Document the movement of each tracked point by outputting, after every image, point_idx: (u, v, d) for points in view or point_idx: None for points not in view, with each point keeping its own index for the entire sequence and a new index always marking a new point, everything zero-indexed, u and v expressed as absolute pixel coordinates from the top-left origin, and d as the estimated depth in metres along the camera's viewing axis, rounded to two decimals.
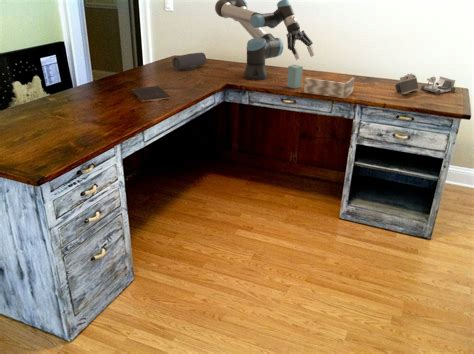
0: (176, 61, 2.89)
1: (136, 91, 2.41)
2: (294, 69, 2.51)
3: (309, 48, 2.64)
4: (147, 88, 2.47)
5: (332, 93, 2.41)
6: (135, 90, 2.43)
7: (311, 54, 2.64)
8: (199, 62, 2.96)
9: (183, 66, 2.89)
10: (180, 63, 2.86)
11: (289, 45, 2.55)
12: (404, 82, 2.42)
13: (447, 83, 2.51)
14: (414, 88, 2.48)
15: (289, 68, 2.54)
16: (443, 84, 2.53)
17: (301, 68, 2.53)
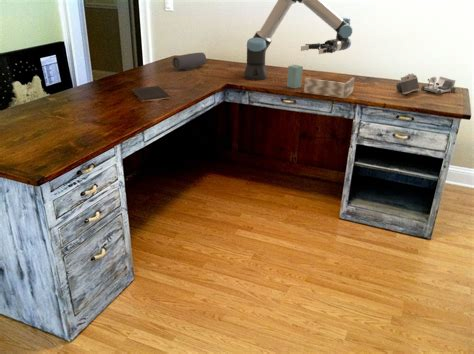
0: (176, 61, 2.89)
1: (136, 91, 2.41)
2: (294, 69, 2.51)
3: (307, 48, 2.65)
4: (147, 88, 2.47)
5: (332, 93, 2.41)
6: (135, 90, 2.43)
7: (303, 48, 2.62)
8: (199, 62, 2.96)
9: (183, 66, 2.89)
10: (180, 63, 2.86)
11: (332, 51, 2.56)
12: (405, 82, 2.42)
13: (447, 83, 2.51)
14: (415, 88, 2.48)
15: (289, 68, 2.54)
16: (443, 84, 2.53)
17: (301, 68, 2.53)
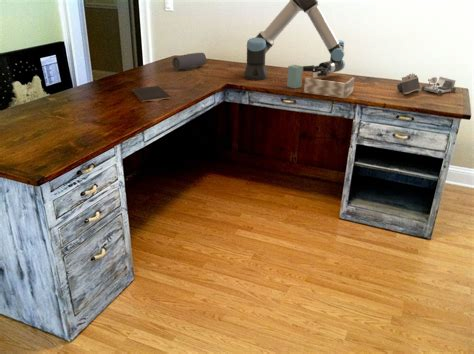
0: (176, 61, 2.89)
1: (136, 91, 2.41)
2: (294, 69, 2.51)
3: None
4: (147, 88, 2.47)
5: (332, 93, 2.41)
6: (135, 90, 2.43)
7: None
8: (199, 62, 2.96)
9: (183, 66, 2.89)
10: (180, 63, 2.86)
11: (326, 74, 2.59)
12: (406, 82, 2.42)
13: (447, 83, 2.51)
14: (416, 88, 2.48)
15: (289, 68, 2.54)
16: (443, 84, 2.53)
17: (301, 68, 2.53)
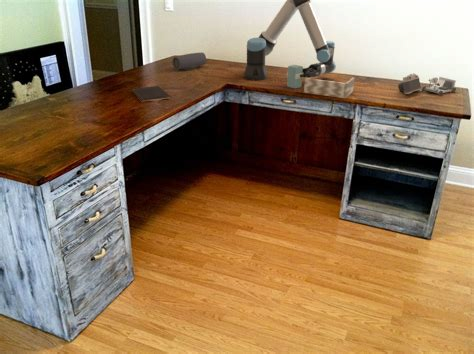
0: (176, 61, 2.89)
1: (136, 91, 2.41)
2: (294, 69, 2.51)
3: None
4: (147, 88, 2.47)
5: (332, 93, 2.41)
6: (135, 90, 2.43)
7: None
8: (199, 62, 2.96)
9: (183, 66, 2.89)
10: (180, 63, 2.86)
11: (309, 76, 2.55)
12: (407, 82, 2.42)
13: (448, 83, 2.51)
14: (417, 88, 2.48)
15: (289, 68, 2.54)
16: (443, 84, 2.52)
17: (301, 68, 2.53)
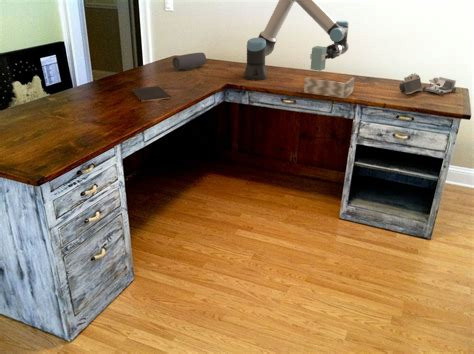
0: (176, 61, 2.89)
1: (136, 91, 2.41)
2: (320, 50, 2.38)
3: None
4: (147, 88, 2.47)
5: (332, 93, 2.41)
6: (135, 90, 2.43)
7: None
8: (199, 62, 2.96)
9: (183, 66, 2.89)
10: (180, 63, 2.86)
11: (333, 56, 2.44)
12: (409, 82, 2.42)
13: (448, 83, 2.50)
14: (418, 88, 2.48)
15: (313, 49, 2.40)
16: (444, 84, 2.52)
17: (325, 49, 2.41)
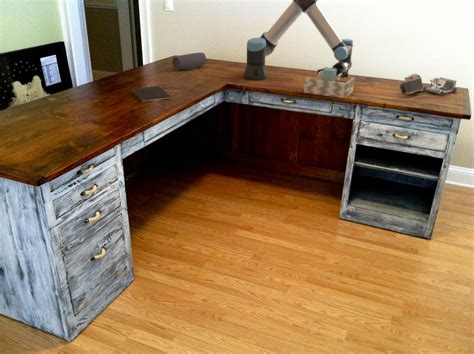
0: (176, 61, 2.89)
1: (136, 91, 2.41)
2: (331, 72, 2.40)
3: (321, 74, 2.49)
4: (147, 88, 2.47)
5: (332, 93, 2.41)
6: (135, 90, 2.43)
7: (319, 75, 2.45)
8: (199, 62, 2.96)
9: (183, 66, 2.89)
10: (180, 63, 2.86)
11: (347, 76, 2.46)
12: (409, 82, 2.42)
13: (448, 84, 2.50)
14: (419, 88, 2.48)
15: (324, 72, 2.41)
16: (444, 85, 2.52)
17: (336, 71, 2.43)
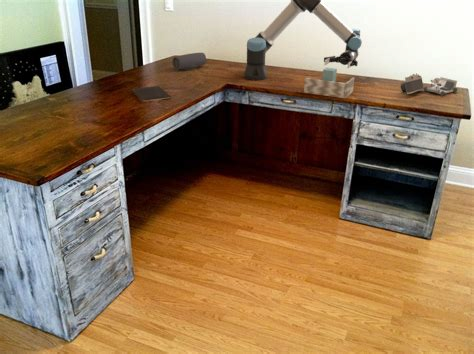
0: (176, 61, 2.89)
1: (136, 91, 2.41)
2: (331, 72, 2.40)
3: (328, 61, 2.58)
4: (147, 88, 2.47)
5: (332, 93, 2.41)
6: (135, 90, 2.43)
7: (326, 62, 2.55)
8: (199, 62, 2.96)
9: (183, 66, 2.89)
10: (180, 63, 2.86)
11: None
12: (409, 82, 2.42)
13: (449, 84, 2.50)
14: (419, 88, 2.48)
15: (324, 72, 2.41)
16: (445, 85, 2.51)
17: (336, 71, 2.43)
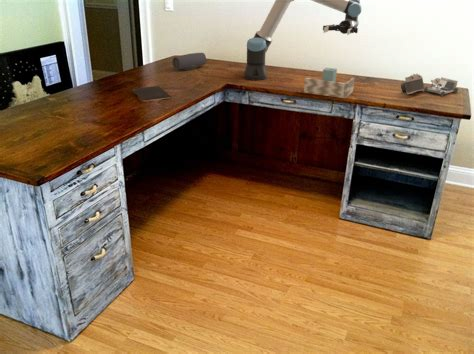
0: (176, 61, 2.89)
1: (137, 91, 2.41)
2: (331, 72, 2.40)
3: (327, 29, 2.50)
4: (147, 88, 2.47)
5: (332, 93, 2.41)
6: (136, 90, 2.43)
7: (325, 29, 2.47)
8: (199, 62, 2.96)
9: (183, 66, 2.89)
10: (180, 63, 2.86)
11: None
12: (409, 82, 2.42)
13: (450, 84, 2.50)
14: (420, 88, 2.47)
15: (324, 72, 2.41)
16: (445, 85, 2.51)
17: (336, 71, 2.43)
